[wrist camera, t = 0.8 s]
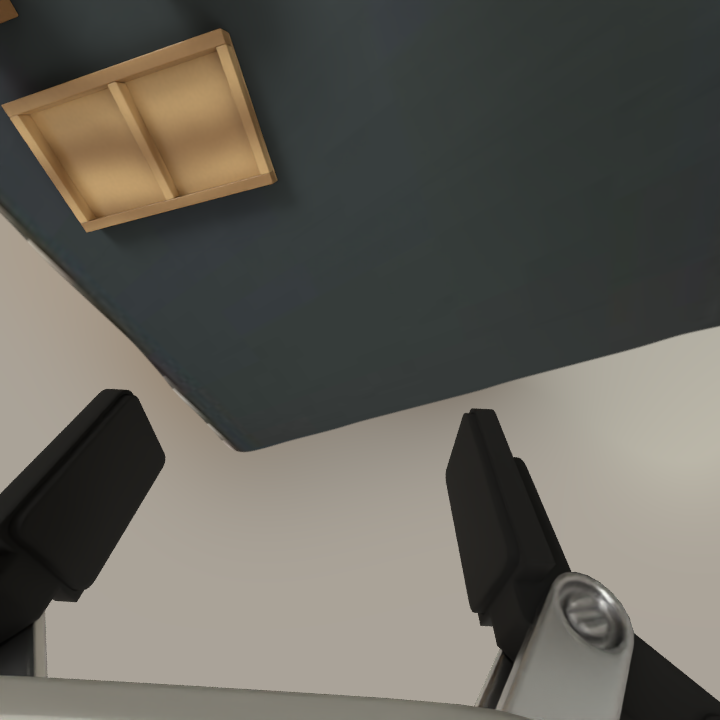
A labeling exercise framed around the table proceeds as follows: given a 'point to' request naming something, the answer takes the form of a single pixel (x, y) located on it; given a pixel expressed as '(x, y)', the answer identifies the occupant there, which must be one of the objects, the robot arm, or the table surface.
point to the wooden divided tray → (148, 133)
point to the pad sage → (7, 11)
